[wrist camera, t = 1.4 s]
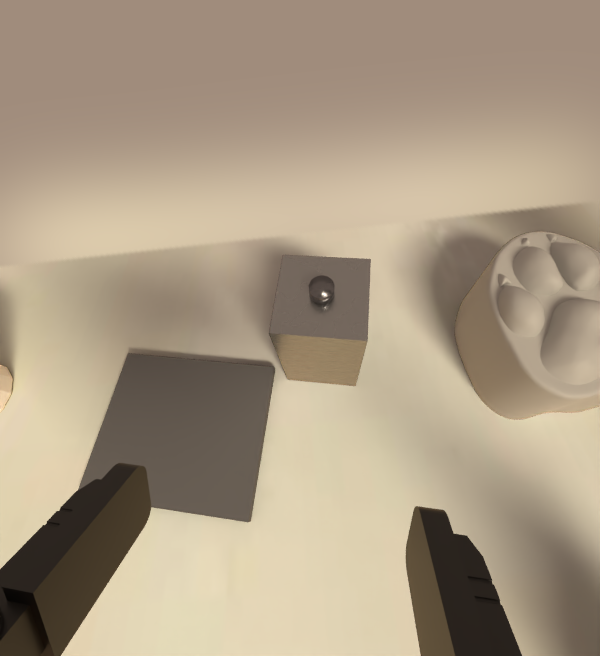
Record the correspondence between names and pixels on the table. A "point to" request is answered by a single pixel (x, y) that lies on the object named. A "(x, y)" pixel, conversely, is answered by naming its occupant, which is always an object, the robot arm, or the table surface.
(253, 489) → the mat
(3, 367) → the white cup
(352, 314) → the knobbed wood block
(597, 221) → the table surface
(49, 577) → the robot arm
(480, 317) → the lumpy-topped squat cylinder
